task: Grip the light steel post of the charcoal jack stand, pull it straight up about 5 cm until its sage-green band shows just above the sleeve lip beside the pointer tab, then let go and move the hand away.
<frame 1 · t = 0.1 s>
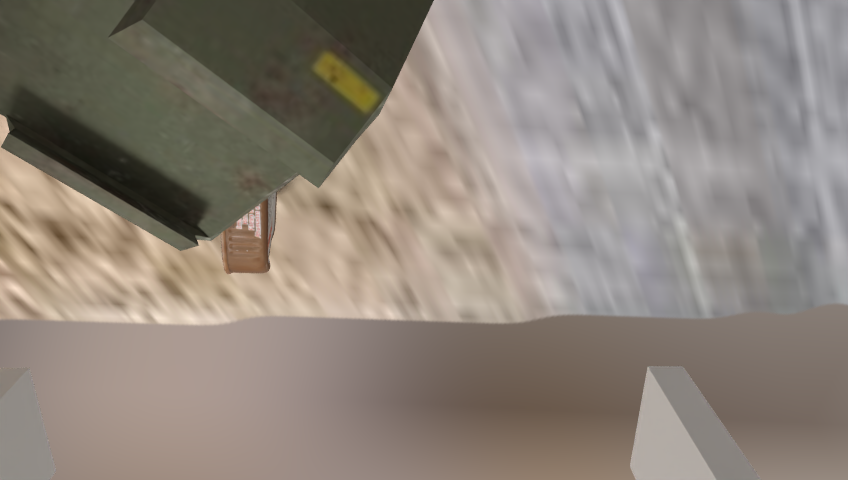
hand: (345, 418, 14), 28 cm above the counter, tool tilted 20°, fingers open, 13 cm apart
tin: (262, 123, 42), on the counter
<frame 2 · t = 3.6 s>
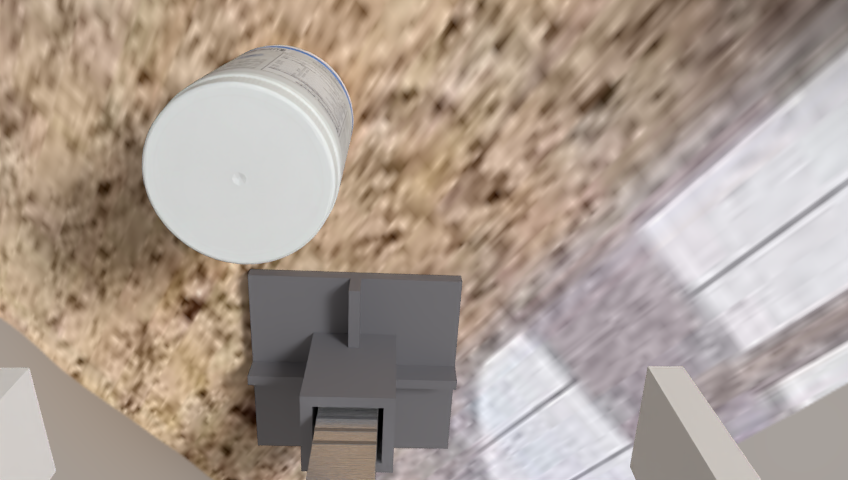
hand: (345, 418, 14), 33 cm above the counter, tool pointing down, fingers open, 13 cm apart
jack base: (355, 360, 53), on the counter
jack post: (345, 459, 43), point 11 cm above the counter, slide at 0.0 cm
supplement tub: (286, 112, 45), on the counter
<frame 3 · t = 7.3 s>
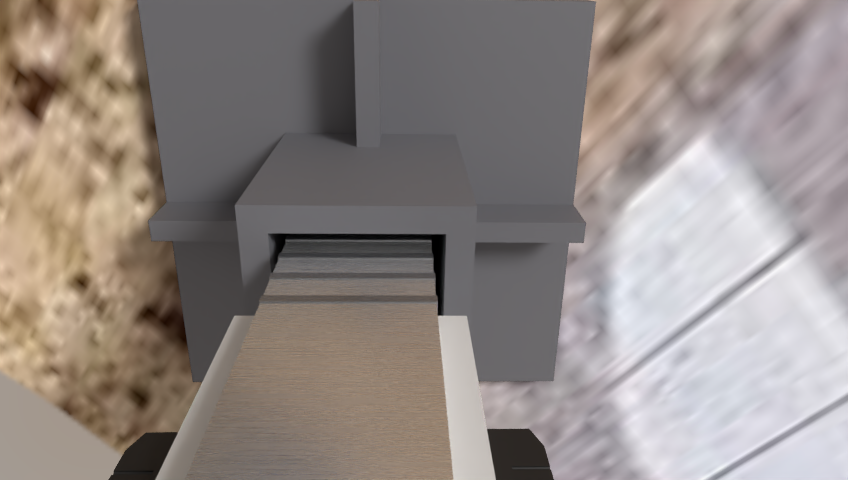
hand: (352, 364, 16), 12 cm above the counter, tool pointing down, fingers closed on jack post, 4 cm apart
jack base: (373, 204, 27), on the counter
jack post: (353, 355, 16), point 11 cm above the counter, slide at 0.0 cm, touching gripper
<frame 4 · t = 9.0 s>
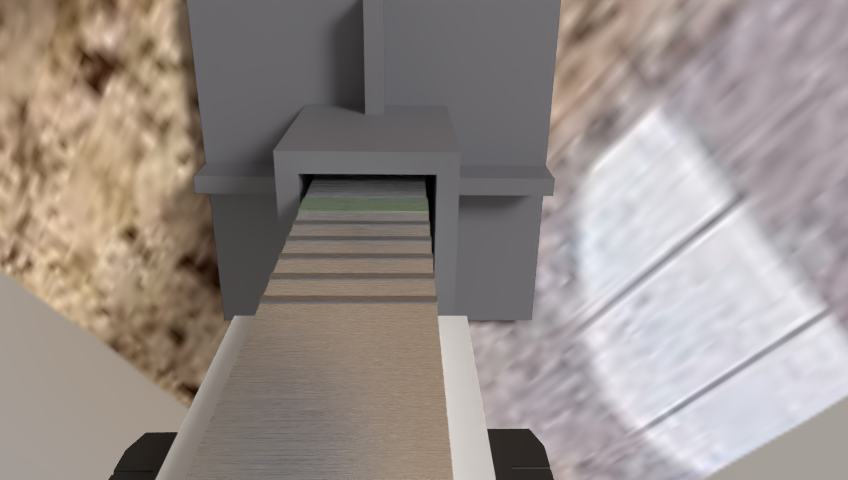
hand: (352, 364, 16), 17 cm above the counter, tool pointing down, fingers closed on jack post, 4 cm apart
jack base: (378, 166, 32), on the counter
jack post: (353, 355, 16), point 17 cm above the counter, slide at 5.4 cm, touching gripper
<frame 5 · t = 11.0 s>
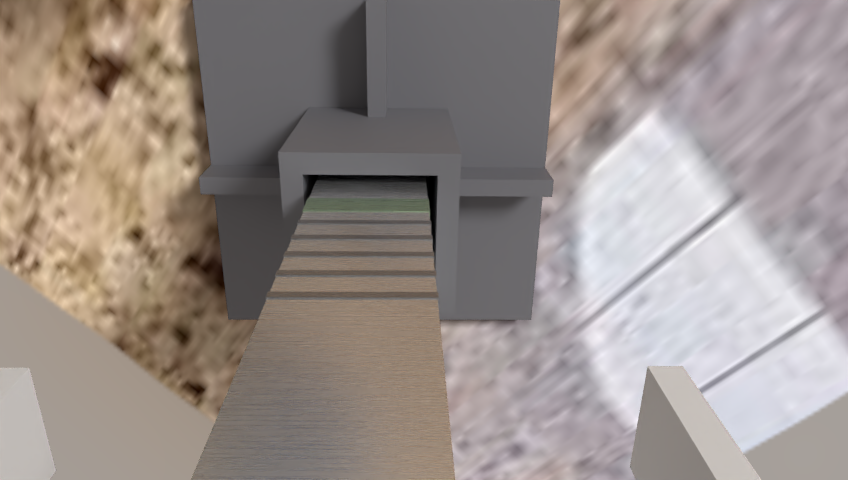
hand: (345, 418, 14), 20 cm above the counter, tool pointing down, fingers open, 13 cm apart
jack base: (380, 168, 32), on the counter
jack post: (357, 350, 17), point 17 cm above the counter, slide at 5.5 cm
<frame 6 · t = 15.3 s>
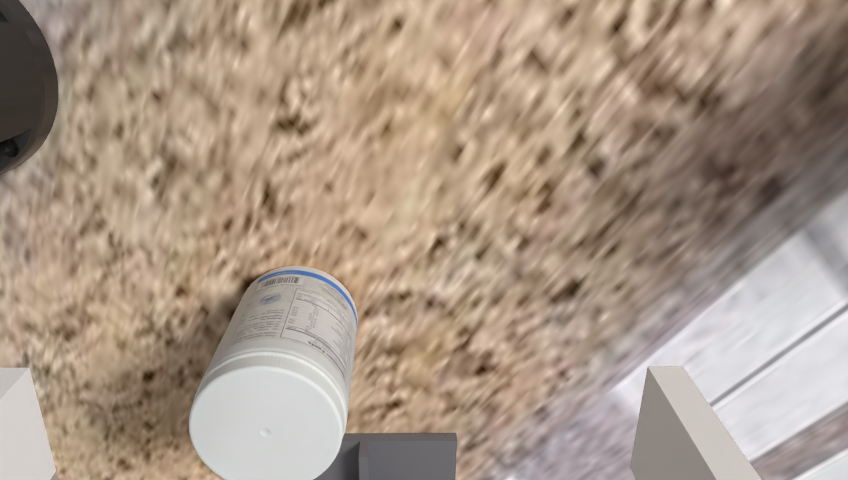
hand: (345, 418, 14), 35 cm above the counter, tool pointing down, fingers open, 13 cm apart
supplement tub: (300, 312, 53), on the counter
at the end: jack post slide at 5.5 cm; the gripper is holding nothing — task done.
